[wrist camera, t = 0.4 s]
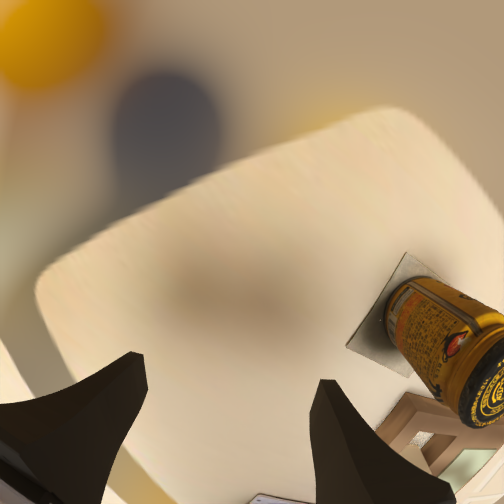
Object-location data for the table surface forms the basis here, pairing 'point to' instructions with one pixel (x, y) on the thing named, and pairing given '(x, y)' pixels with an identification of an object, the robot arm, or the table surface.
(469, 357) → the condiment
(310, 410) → the robot arm
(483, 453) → the board
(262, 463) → the table surface
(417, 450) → the cream block
